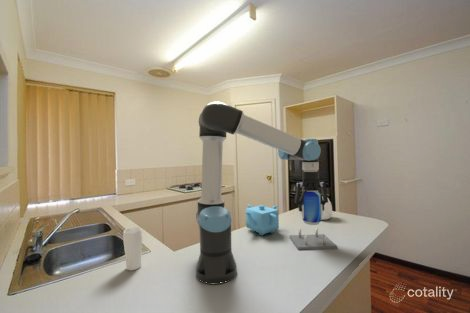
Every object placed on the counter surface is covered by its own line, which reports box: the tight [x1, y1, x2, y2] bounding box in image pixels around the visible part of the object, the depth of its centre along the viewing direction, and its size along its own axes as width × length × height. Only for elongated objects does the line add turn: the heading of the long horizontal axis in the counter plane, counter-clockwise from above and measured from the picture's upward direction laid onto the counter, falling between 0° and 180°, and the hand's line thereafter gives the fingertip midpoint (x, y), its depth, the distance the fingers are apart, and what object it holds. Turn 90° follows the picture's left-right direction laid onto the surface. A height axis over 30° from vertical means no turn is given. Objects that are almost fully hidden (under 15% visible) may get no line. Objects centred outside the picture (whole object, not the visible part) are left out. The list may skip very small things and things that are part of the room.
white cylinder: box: [122, 226, 143, 271], centre depth 86 cm, size 7×7×15 cm
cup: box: [321, 196, 333, 221], centre depth 143 cm, size 13×13×14 cm
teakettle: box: [243, 203, 280, 237], centre depth 122 cm, size 19×19×15 cm
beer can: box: [302, 190, 322, 226], centre depth 105 cm, size 8×8×16 cm
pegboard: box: [288, 228, 338, 251], centre depth 106 cm, size 18×14×5 cm
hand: (311, 217), depth 105 cm, fingers closed on beer can, 8 cm apart
